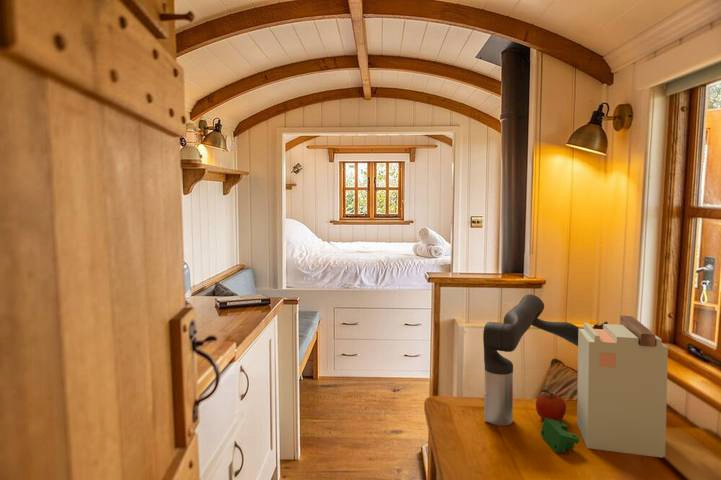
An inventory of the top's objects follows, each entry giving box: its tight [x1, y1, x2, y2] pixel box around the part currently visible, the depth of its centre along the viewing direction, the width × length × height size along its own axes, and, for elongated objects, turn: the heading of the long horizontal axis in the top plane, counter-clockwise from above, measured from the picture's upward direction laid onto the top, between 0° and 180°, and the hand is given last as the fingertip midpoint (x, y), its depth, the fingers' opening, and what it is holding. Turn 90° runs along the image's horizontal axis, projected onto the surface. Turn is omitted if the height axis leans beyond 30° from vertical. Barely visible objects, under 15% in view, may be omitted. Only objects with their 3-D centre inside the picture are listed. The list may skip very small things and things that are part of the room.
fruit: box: [535, 389, 567, 422], centre depth 148 cm, size 10×10×10 cm
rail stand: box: [576, 322, 669, 459], centre depth 133 cm, size 20×16×34 cm
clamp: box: [540, 418, 581, 454], centre depth 131 cm, size 12×6×9 cm, turn 175°
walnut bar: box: [619, 315, 656, 347], centre depth 134 cm, size 4×24×4 cm, turn 161°
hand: (620, 325), depth 149 cm, fingers open, 8 cm apart
